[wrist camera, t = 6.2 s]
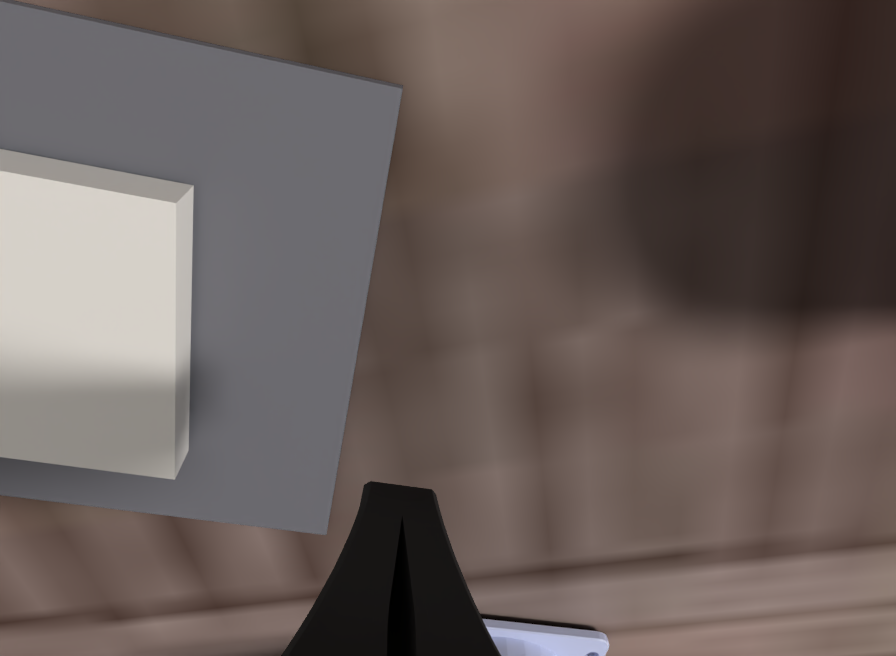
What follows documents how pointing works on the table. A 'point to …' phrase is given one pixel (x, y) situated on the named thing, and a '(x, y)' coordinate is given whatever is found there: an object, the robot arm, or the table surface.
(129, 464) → the tile
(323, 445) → the mat
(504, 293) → the table surface
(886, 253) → the table surface
